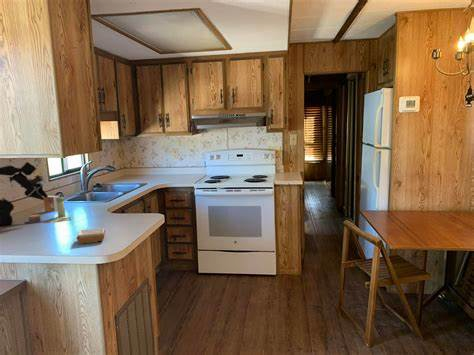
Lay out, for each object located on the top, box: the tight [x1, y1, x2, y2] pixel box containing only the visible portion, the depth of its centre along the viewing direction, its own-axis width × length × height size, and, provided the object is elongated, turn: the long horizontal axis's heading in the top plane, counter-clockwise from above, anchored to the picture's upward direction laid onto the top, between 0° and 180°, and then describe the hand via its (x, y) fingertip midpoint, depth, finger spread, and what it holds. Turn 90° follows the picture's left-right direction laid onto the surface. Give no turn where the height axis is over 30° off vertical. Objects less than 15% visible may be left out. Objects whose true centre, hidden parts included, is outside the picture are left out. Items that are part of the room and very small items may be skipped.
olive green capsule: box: [56, 196, 66, 218], centre depth 221 cm, size 4×4×12 cm
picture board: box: [41, 215, 72, 224], centre depth 216 cm, size 18×17×1 cm
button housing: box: [28, 214, 42, 224], centre depth 211 cm, size 6×6×4 cm
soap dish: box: [76, 227, 106, 245], centre depth 172 cm, size 12×10×5 cm
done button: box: [29, 214, 39, 218], centre depth 211 cm, size 4×4×2 cm
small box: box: [43, 195, 60, 213], centre depth 241 cm, size 8×6×10 cm
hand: (45, 198), depth 217 cm, fingers open, 9 cm apart
